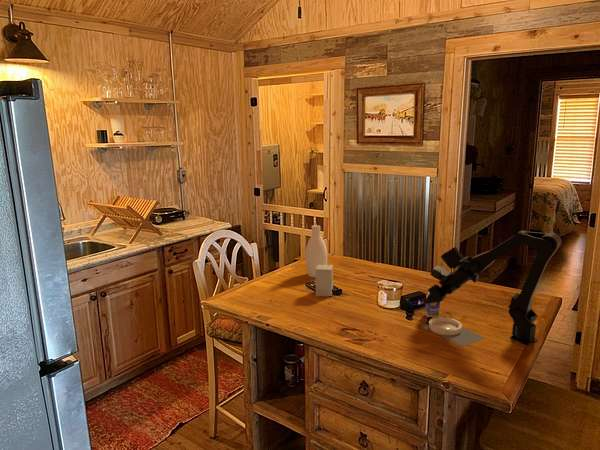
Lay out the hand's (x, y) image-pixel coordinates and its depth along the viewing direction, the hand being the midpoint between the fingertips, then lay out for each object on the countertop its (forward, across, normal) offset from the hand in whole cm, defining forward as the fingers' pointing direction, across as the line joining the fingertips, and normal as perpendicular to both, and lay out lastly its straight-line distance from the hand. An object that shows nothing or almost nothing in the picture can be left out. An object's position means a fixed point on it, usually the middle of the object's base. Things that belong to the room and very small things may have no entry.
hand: (429, 299), depth 184 cm
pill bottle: (+4, 0, +6) cm, 7 cm away
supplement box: (+38, +6, -29) cm, 48 cm away
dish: (-3, +8, +12) cm, 15 cm away
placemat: (-4, +9, +14) cm, 17 cm away
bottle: (+52, -13, -42) cm, 68 cm away
